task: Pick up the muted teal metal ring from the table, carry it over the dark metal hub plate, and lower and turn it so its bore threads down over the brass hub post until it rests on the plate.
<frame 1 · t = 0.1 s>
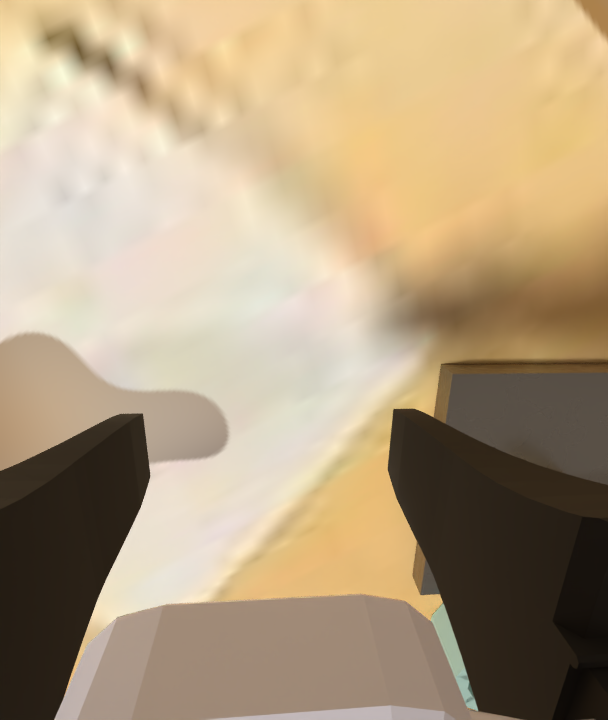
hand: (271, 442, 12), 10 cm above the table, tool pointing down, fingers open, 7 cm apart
hub plate: (542, 476, 25), on the table
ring: (467, 621, 29), on the table
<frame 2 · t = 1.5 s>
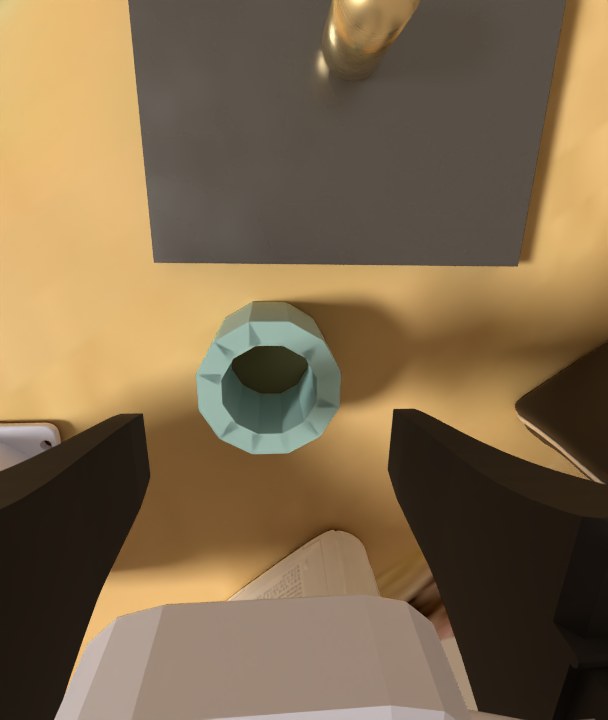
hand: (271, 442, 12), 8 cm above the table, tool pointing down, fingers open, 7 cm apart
battery charger: (575, 390, 21), on the table
hub plate: (345, 61, 15), on the table
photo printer: (289, 582, 24), on the table
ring: (269, 358, 19), on the table
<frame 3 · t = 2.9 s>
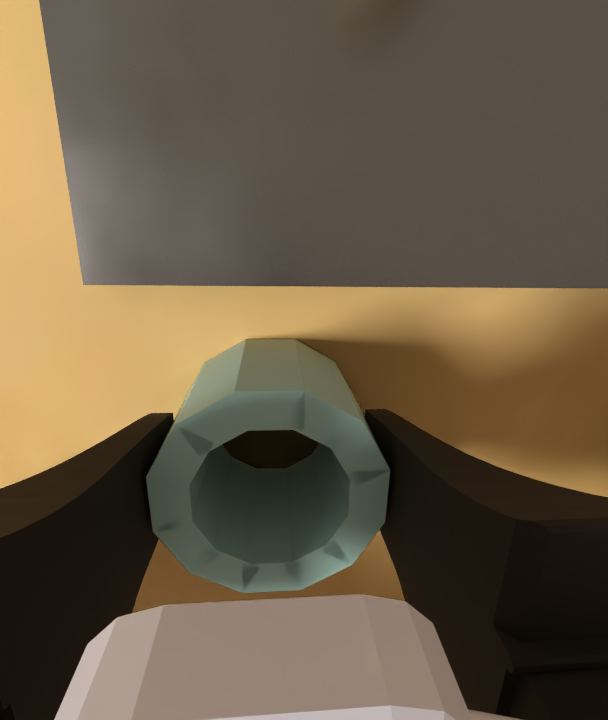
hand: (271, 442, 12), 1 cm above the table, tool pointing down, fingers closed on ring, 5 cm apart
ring: (271, 420, 13), on the table, touching gripper
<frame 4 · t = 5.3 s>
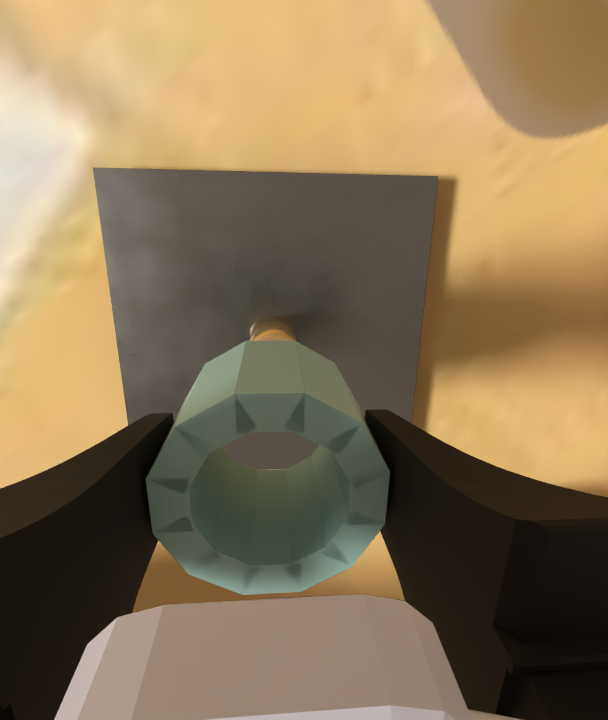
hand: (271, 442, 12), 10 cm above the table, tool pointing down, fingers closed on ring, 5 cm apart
hub plate: (272, 330, 21), on the table
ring: (271, 421, 13), point 9 cm above the table, touching gripper
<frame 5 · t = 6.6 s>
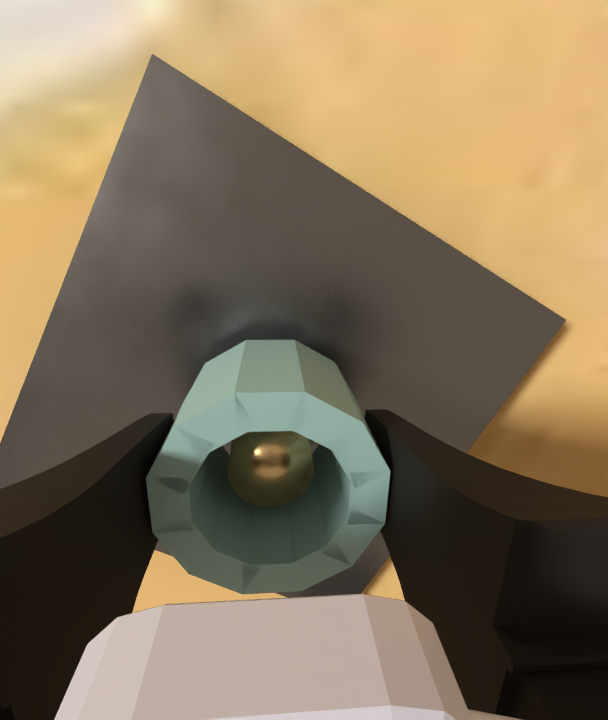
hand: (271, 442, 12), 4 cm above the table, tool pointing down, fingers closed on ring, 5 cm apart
hub plate: (271, 388, 15), on the table
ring: (271, 420, 13), point 3 cm above the table, touching gripper
when the fingers open (4 cm above the table, at t = 7.6 s): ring drops 1 cm, resting on hub plate.
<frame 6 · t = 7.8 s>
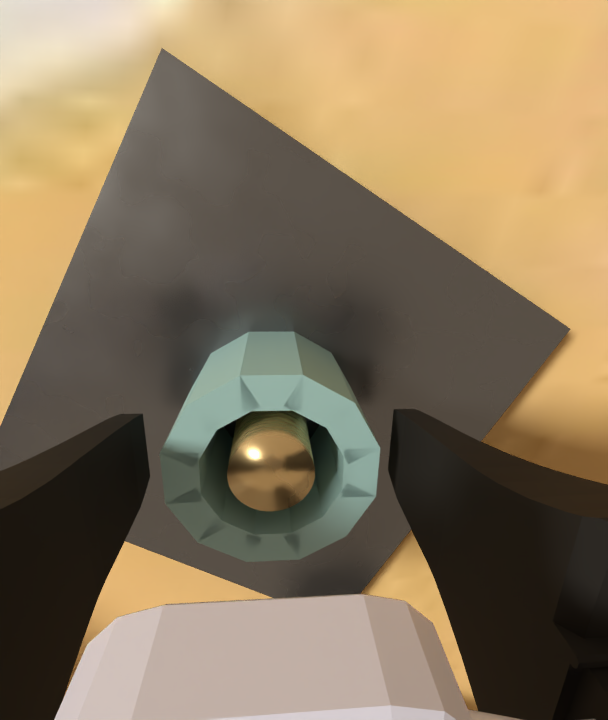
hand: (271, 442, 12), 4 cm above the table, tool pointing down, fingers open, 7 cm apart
hub plate: (271, 390, 15), on the table
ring: (272, 407, 14), point 1 cm above the table, touching hub plate
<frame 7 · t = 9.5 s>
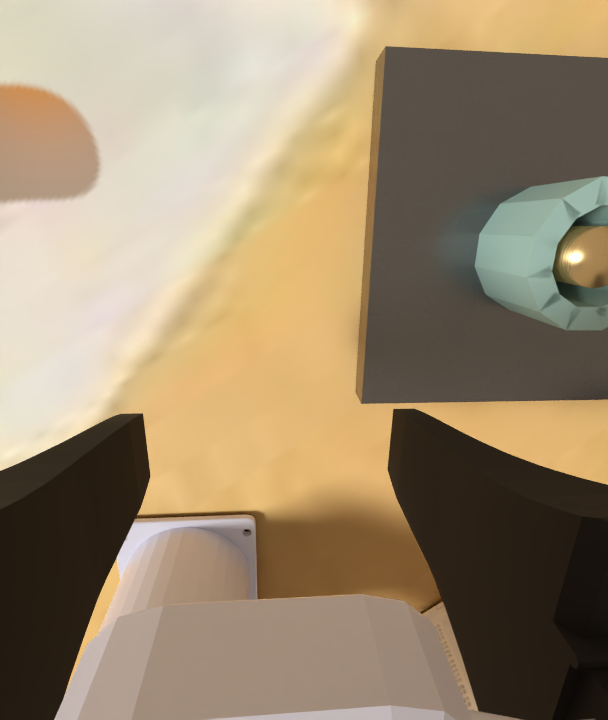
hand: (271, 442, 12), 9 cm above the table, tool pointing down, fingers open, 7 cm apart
hub plate: (514, 249, 20), on the table
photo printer: (417, 633, 28), on the table
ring: (533, 251, 18), point 1 cm above the table, touching hub plate
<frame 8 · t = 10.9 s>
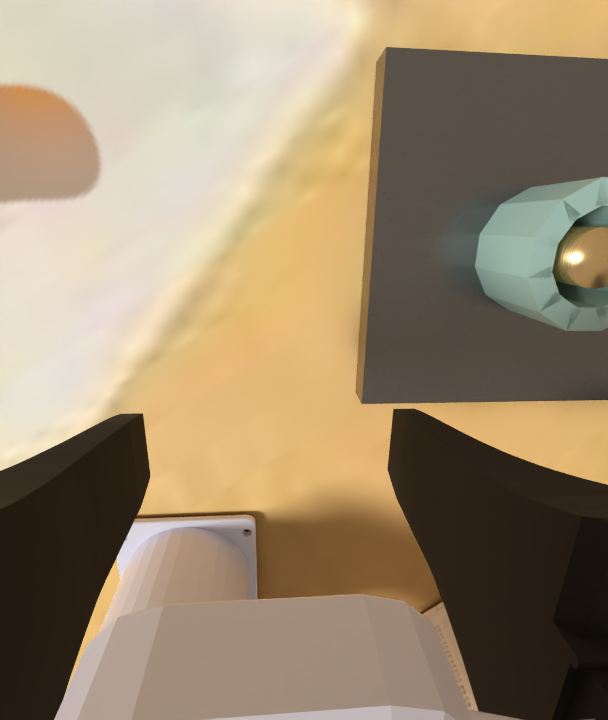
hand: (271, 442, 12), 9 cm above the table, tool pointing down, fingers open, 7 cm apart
hub plate: (514, 249, 20), on the table
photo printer: (417, 633, 28), on the table
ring: (534, 251, 18), point 1 cm above the table, touching hub plate
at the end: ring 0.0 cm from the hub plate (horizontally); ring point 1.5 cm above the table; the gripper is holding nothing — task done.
